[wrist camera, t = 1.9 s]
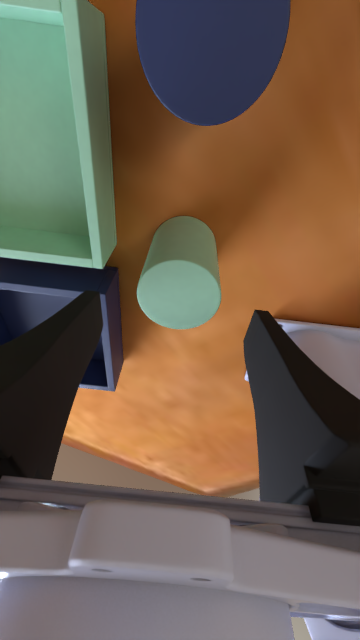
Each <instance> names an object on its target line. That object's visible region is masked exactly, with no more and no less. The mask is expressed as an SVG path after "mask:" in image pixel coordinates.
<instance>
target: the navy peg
mask: <svg viewBox="0 0 360 640" xmlns="http://www.w3.org/2000/svg"><path fill="white" fill-rule="evenodd" d="M289 19H290V0H137V3H136V20H135V23H136V39H137V46H138V52H139V56H140V61H141V64H142V67H143V70H144V73H145V76H146V78H147V80H148V83H149V85H150V87H151V88H152V90H153V92H154V93H155V95H156V96H157V98H158V99H159V100H160V102H161V103H162V104H163V105H164V106H165V107H166V108H167V109H168V110H169V111H170V112H171V113H172V114H174V115H175V116H176V117H178V118H180V119H182V120H183V121H186V122H188V123H191V124H195V125H201V126H211V125H218V124H222V123H225V122H227V121H230V120H232V119H234V118H236V117H237V116H239V115H241V114H242V113H243V112H244V111H246V110H247V109H248V108H249V107H250V106H251V105H252V104H253V103H254V102H255V101H256V100H257V99H258V98H259V97H260V95H261V94H262V93H263V91H264V90H265V88H266V87H267V85H268V84H269V82H270V81H271V79H272V77H273V75H274V73H275V71H276V69H277V66H278V64H279V61H280V59H281V56H282V53H283V49H284V46H285V43H286V38H287V33H288V27H289Z"/></svg>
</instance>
